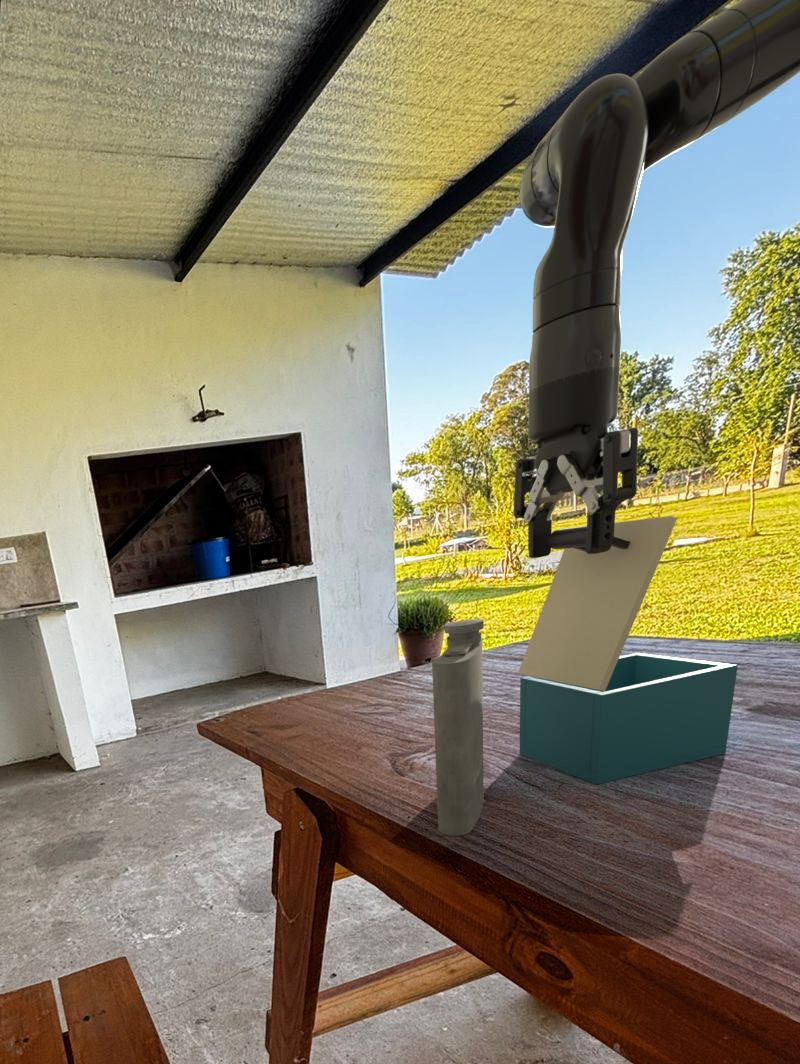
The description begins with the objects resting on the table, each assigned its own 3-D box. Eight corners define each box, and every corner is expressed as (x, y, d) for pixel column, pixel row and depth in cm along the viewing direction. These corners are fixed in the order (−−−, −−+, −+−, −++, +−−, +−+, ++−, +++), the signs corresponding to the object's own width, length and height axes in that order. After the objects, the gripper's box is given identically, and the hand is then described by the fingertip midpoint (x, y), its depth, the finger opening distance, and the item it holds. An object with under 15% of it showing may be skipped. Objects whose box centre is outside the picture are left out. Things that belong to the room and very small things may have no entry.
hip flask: (452, 778, 75) (448, 612, 68) (489, 778, 73) (488, 607, 66) (436, 835, 63) (428, 637, 55) (480, 837, 61) (477, 632, 54)
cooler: (630, 728, 81) (636, 652, 77) (725, 753, 68) (738, 664, 65) (519, 754, 79) (520, 677, 76) (596, 784, 67) (601, 695, 63)
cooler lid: (577, 529, 71) (535, 516, 69) (678, 517, 59) (629, 501, 57) (522, 675, 76) (482, 665, 74) (605, 691, 63) (558, 680, 62)
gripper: (673, 344, 53) (656, 544, 58) (556, 393, 66) (552, 552, 72) (593, 357, 52) (585, 558, 58) (492, 404, 65) (493, 564, 71)
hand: (567, 555), depth 65 cm, fingers open, 8 cm apart
